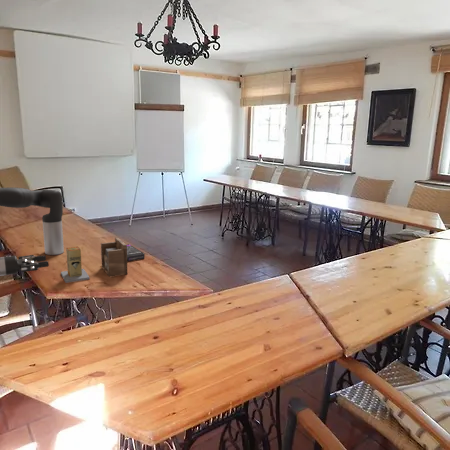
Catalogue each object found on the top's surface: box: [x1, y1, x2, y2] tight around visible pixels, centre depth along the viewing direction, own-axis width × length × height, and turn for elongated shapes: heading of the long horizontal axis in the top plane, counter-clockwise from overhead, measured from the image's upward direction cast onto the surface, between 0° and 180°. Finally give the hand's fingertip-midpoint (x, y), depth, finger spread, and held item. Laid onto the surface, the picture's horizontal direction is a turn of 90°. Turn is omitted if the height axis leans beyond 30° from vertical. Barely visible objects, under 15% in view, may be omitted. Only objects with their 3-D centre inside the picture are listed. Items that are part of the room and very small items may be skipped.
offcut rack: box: [100, 237, 128, 278], centre depth 185 cm, size 14×8×14 cm, turn 30°
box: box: [126, 243, 145, 263], centre depth 209 cm, size 14×4×20 cm
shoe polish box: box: [65, 246, 83, 277], centre depth 177 cm, size 5×5×12 cm
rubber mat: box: [60, 268, 91, 284], centre depth 178 cm, size 12×10×1 cm
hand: (47, 260), depth 171 cm, fingers open, 8 cm apart
